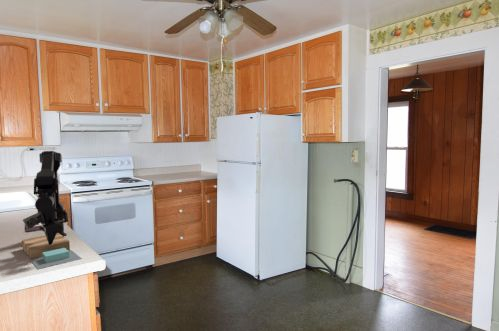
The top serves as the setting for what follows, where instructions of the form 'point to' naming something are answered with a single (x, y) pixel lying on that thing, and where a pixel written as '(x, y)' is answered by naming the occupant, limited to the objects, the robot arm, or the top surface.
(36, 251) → the oak deck
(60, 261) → the slate mat
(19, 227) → the top surface
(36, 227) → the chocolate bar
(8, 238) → the top surface
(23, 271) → the top surface
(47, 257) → the teal tile
